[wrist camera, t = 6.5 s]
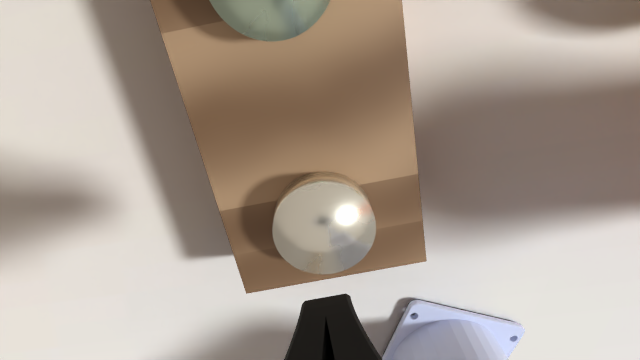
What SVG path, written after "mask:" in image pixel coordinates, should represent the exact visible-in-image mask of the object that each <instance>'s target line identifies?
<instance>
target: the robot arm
mask: <svg viewBox="0 0 640 360" xmlns="http://www.w3.org/2000/svg"><path fill="white" fill-rule="evenodd" d="M412 313H416V314H414V315H411V314H412ZM524 332H525V329H524V328H523V326H522V325H521V324H519V323H516V322H512V321H507V320H503V319H499V318H494V317H490V316H486V315H481V314H477V313H473V312H469V311H464V310H460V309H456V308H451V307H447V306H443V305H438V304H434V303H430V302H425V301H421V300H413V301H411V302H410V303H409V304H408V306H407V308H406V310H405V312H404V314H403V316H402V318H401V321H400V323H399V325H398V327H397V329H396V331H395V333H394V335H393V337H392V339H391V341H390V343H389V345H388V347H387V349H386V351H385V353H384V355H383V357H382V358H381V357H380V355H379V354H378V352H377V351H376V349H375V347H374V346H373V344H372V342H371V341H370V339H369V337H368V336H367V334H366V332H365V331H364V329H363V327H362V325H361V323H360V321H359V319H358V317H357V315H356V312H355V310H354V307H353V305H352V302H351V298H350V296H349V295H347V294H341V295H336V296H330V297H325V298H319V299H314V300H308V301H305V302H304V303H303V304H302V307H301V312H300V316H299V319H298V323H297V326H296V329H295V332H294V335H293V338H292V341H291V343H290V346H289V349H288V351H287V354H286V356H285V359H284V360H508V357H509V356H510V354H511V353H512V351H513V350H514V348H515V347H516V345H517V343H518V342H519V340H520V339H521V337H522V336H523V334H524ZM511 336H512V337H511Z"/></svg>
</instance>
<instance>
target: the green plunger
mask: <svg viewBox="0 0 640 360" xmlns="http://www.w3.org/2000/svg"><path fill="white" fill-rule="evenodd" d="M209 1H210V3H211V4H212V6H213V7H214V9H215V11H216V12H217V13H218V14H219V16H220V17H221V18H222V19H223V20H224V21H225V22H226V23H227V24H228V25H229V26H231V27H232V28H233V29H235V30H236V31H238V32H239V33H241V34H243V35H245V36H247V37H250V38H253V39H256V40H261V41H283V40H287V39H291V38H293V37H296V36H298V35H300V34H302V33H303V32H305V31H307V30H308V29H309V28H310V27H312V26H313V25H314V24H315V23H316V22H317V21H318V20H319V18H320V17H321V16H322V14H323V13H324V12H325V10H326V8H327V6H328V4H329V2H330V0H209Z"/></svg>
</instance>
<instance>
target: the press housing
mask: <svg viewBox="0 0 640 360" xmlns="http://www.w3.org/2000/svg"><path fill="white" fill-rule="evenodd" d="M150 1H151V4H152V7H153V10H154V13H155V16H156V19H157V22H158V26H159V29H160V32H161V35H162V38H163V41H164V44H165V47H166V50H167V53H168V56H169V59H170V62H171V65H172V68H173V71H174V74H175V77H176V80H177V83H178V86H179V90H180V93H181V96H182V99H183V102H184V105H185V108H186V111H187V114H188V117H189V120H190V123H191V126H192V129H193V132H194V135H195V138H196V141H197V144H198V147H199V150H200V154H201V157H202V160H203V163H204V166H205V169H206V172H207V175H208V178H209V181H210V184H211V187H212V190H213V193H214V196H215V199H216V202H217V205H218V208H219V211H220V215H221V218H222V221H223V224H224V227H225V230H226V233H227V236H228V239H229V242H230V245H231V248H232V251H233V254H234V257H235V260H236V263H237V266H238V269H239V272H240V275H241V279H242V282H243V285H244V288H245V291H246V294H247V293H252V292H258V291H263V290H269V289H274V288H280V287H285V286H291V285H297V284H302V283H308V282H313V281H319V280H324V279H330V278H336V277H341V276H347V275H352V274H358V273H363V272H369V271H375V270H380V269H386V268H391V267H397V266H402V265H408V264H413V263H419V262H425V261H426V251H425V240H424V230H423V219H422V209H421V198H420V187H419V177H418V166H417V156H416V145H415V134H414V124H413V113H412V103H411V92H410V81H409V71H408V60H407V50H406V39H405V28H404V18H403V7H402V0H330V2H329V4H328V6H327V8H326V10H325V12H324V13H323V14H322V16H321V17H320V18H319V20H318V21H317V22H316V23H315V24H314V25H313V26H312V27H310V28H309V29H308V30H307V31H305V32H303V33H302V34H300V35H298V36H296V37H293V38H291V39H287V40H283V41H261V40H256V39H253V38H250V37H247V36H245V35H243V34H241V33H239V32H238V31H236V30H235V29H233V28H232V27H231V26H229V25H228V24H227V23H226V22H225V21H224V20H223V19H222V18H221V17H220V16H219V14H218V13H217V12H216V11H215V9H214V7H213V6H212V4H211V3H210V1H209V0H150ZM319 171H329V172H335V173H339V174H342V175H345V176H347V177H349V178H351V179H352V180H354V181H355V182H356V183H357V184H358V185H359V186H360V187H361V188H362V189H363V190H364V192H365V194H366V195H367V197H368V200H369V203H370V205H371V208H372V211H373V214H374V217H375V221H376V235H375V239H374V242H373V245H372V247H371V248H370V250H369V252H368V253H367V254H366V256H365V257H364V258H363V259H362V260H361V261H359V262H358V263H357V264H355V265H354V266H352V267H351V268H348V269H346V270H344V271H341V272H338V273H333V274H313V273H308V272H305V271H302V270H299V269H297V268H295V267H294V266H292V265H291V264H289V263H288V262H287V261H286V260H285V259H284V258H283V257H282V256H281V255H280V253H279V252H278V250H277V248H276V246H275V243H274V240H273V233H272V228H273V220H274V212H275V206H276V203H277V200H278V198H279V196H280V194H281V193H282V191H283V190H284V189H285V188H286V187H287V186H288V185H289V184H290V183H291V182H292V181H294V180H295V179H297V178H299V177H301V176H303V175H305V174H308V173H312V172H319Z"/></svg>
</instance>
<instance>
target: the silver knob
mask: <svg viewBox="0 0 640 360" xmlns="http://www.w3.org/2000/svg"><path fill="white" fill-rule="evenodd" d="M272 233H273V240H274V243H275V246H276V248H277V250H278V252H279V253H280V255H281V256H282V257H283V258H284V259H285V260H286V261H287V262H288V263H289V264H291V265H292V266H294V267H295V268H297V269H299V270H302V271H305V272H308V273H313V274H333V273H338V272H341V271H344V270H346V269H348V268H351V267H352V266H354V265H355V264H357V263H358V262H359V261H361V260H362V259H363V258H364V257H365V256H366V254H367V253H368V252H369V250H370V248H371V247H372V245H373V242H374V239H375V235H376V221H375V217H374V214H373V211H372V208H371V205H370V203H369V200H368V197H367V195H366V194H365V192H364V190H363V189H362V188H361V187H360V186H359V185H358V184H357V183H356V182H355V181H354V180H352V179H351V178H349V177H347V176H345V175H342V174H339V173H335V172H329V171H319V172H312V173H308V174H305V175H303V176H301V177H299V178H297V179H295V180H294V181H292V182H291V183H290V184H289V185H288V186H287V187H286V188H285V189H284V190H283V191H282V193H281V194H280V196H279V198H278V200H277V203H276V206H275V212H274V220H273V228H272Z"/></svg>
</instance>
